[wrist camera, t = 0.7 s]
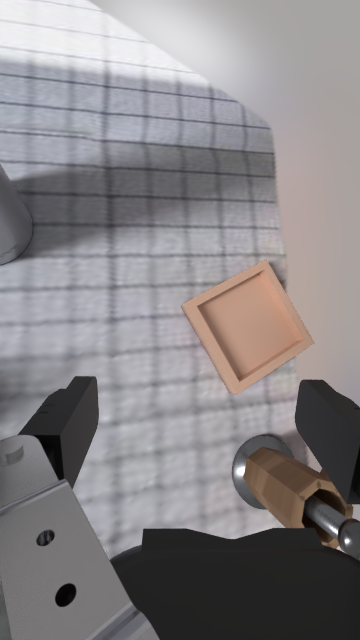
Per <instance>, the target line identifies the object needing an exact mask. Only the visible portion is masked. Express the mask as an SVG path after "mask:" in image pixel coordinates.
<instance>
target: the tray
mask: <svg viewBox="0 0 360 640" xmlns="http://www.w3.org/2000/svg"><path fill="white" fill-rule="evenodd" d="M181 308H182V309H183V311H184V313H185V315H186V316H187V318H188V320H189V322H190V324H191V325H192V327H193V329H194V331H195V332H196V334H197V336H198V338H199V340H200V341H201V343H202V345H203V347H204V349H205V350H206V352H207V354H208V356H209V357H210V359H211V361H212V363H213V365H214V366H215V368H216V370H217V372H218V374H219V375H220V377H221V379H222V381H223V382H224V384H225V386H226V388H227V390H228V391H229V393H233V394H238V393H240V392H241V391H243V390H244V389H246V388H247V387H249V386H250V385H252V384H253V383H255V382H256V381H258V380H259V379H261V378H263V377H264V376H266V375H267V374H269V373H270V372H272V371H273V370H275V369H276V368H278V367H279V366H281V365H282V364H284V363H285V362H287V361H288V360H290V359H291V358H293V357H294V356H296V355H297V354H299V353H300V352H302V351H303V350H305V349H306V348H308V347H309V346H311V345H312V344H314V341H313V340H312V338H311V336H310V334H309V333H308V331H307V329H306V327H305V326H304V324H303V322H302V320H301V319H300V317H299V315H298V313H297V312H296V310H295V308H294V307H293V305H292V303H291V301H290V300H289V298H288V296H287V294H286V293H285V291H284V289H283V287H282V286H281V284H280V282H279V280H278V279H277V277H276V275H275V273H274V272H273V270H272V268H271V266H270V265H269V263H268V261H267V259H266V260H264V261H262V262H260V263H258V264H256V265H254V266H253V267H251V268H249V269H247V270H245V271H243V272H241V273H239V274H238V275H236V276H234V277H232V278H230V279H228V280H226V281H224V282H223V283H221V284H219V285H217V286H215V287H213V288H211V289H209V290H208V291H206V292H204V293H202V294H200V295H198V296H196V297H195V298H193V299H191V300H189V301H187V302H185V303H184V304H183V305H182V306H181Z"/></svg>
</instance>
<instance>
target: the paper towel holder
mask: <svg viewBox="0 0 360 640" xmlns="http://www.w3.org/2000/svg"><path fill="white" fill-rule="evenodd" d="M261 447H266V448H270V449H274V450H278V451H281V452H282V453H284V454H286V455H288V456H290V457H291V458H293V459H294V456H293V454H292V452H291V451H290V449H289V448H288V447H287V446H286V445H285V444H284V443H283V442H282V441H280V440H278V439H276V438H274V437H271V436H266V435H261V436H256V437H253V438H251V439H249V440H248V441H246V442H245V443H244V444H243V445H242V446H241V447H240V448H239V450H238V452H237V453H236V455H235V458H234V461H233V466H232V478H233V483H234V486H235V488H236V490H237V492H238V494H239V495H240V496H241V497H242V499H243V500H244V501H245V502H247V503H248V504H249V505H251V506H253V507H255V508H258V509H266V508H265V507H264V506H263V505H262V504H261V503H260V502H259V501H258V500H257V499H256V498H255V497H254V496H253V495H252V493H251V491H250V489H249V487H248V486H247V484H246V482H245V480H244V478H243V475H244V470H245V465H246V461H247V457H248V456H250V455H251V454H253V453H254V452H255V451H257V450H258V449H259V448H261ZM303 513H304V514H305V515H307V516H308V517H309V518H310V519H311V520H313V521H314V522H315V523H316V524H318V525H319V526H320V527H321V528H323V529H324V530H325V531H326V532H327V533H329V534H330V535H331V536H332V537H334V538H335V539H336V540H337V541H338V543H339V546H340V547H341V549H342V550H343V551H344V552H345V553H346V554H348V555H351V556H352V557H354V558H356V559H358V560H359V558H360V521H358V520H356V519H353V518H350V519H348V518H346V517H345V516H344V515H342V514H341V513H339V512H338V511H336V510H335V509H333V508H332V507H330V506H329V505H327V504H326V503H324V502H323V501H321V500H320V499H319V498H317V497H316V496H314V495H313V494H312V495H311V496H309V497H308V498H307V499H306V500H305V502H304V508H303Z"/></svg>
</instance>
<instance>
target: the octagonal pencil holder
mask: <svg viewBox="0 0 360 640" xmlns="http://www.w3.org/2000/svg"><path fill="white" fill-rule="evenodd" d="M243 478H244V480H245V482H246V484H247V486H248V487H249V489H250V491H251V493H252V495H253V496H254V497H255V498H256V499H257V500H258V501H259V502H260V503H261V504H262V505H263V506H264V507H265V508H266V509H267V510H268V511H269V512H270V513H271V514H272V515H273V516H274V517H275V518H276V519H277V520H278V521H279V522H280V523H281V524H282V525H284V526H285V527H286V528H315V530H316V532H317V534H318V536H319V538H320V540H321V542H322V544H323V545H325V546H329V547H332V548H334V549H336V548H337V547H338V546H339V543H338V541H337V540H336V539H335V538H334V537H332V536H331V535H330V534H329V533H327V532H326V531H325V530H324V529H323V528H321V527H320V526H319V525H318V524H316V523H315V522H314V521H313V520H311V519H310V518H309V517H308V516H307V515H305V514H304V513H303V508H304V502H305V500H306V499H307V498H308V497H309V496H311V495H312V494H313V495H314V496H316V497H317V498H319V499H320V500H321V501H323V502H324V503H326V504H327V505H329V506H330V507H332V508H333V509H335V510H336V511H338V512H339V513H341V514H342V515H344V516H345V517H346V518H348V519H350V518H352V514H353V506H352V504H346V503H345V501H344V500H343V498H342V497H341V495H340V494H339V492H338V491H337V489H336V488H335V486H334V485H333V483H332V482H331V480H330V479H329V477H328V476H327V474H326V473H325V471H324V470H323V468H322V470H321V472H320V473H319V472H317V471H315V470H313V469H312V468H310V467H308V466H306V465H304V464H302V463H301V462H299V461H297V460H295V459H293V458H291V457H290V456H288V455H286V454H284V453H282V452H281V451H278V450H274V449H270V448H266V447H261V448H259V449H258V450H257V451H255V452H254V453H253V454H251V455H250V456H248V457H247V461H246V465H245V470H244V475H243Z"/></svg>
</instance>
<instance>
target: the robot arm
mask: <svg viewBox="0 0 360 640" xmlns="http://www.w3.org/2000/svg"><path fill="white" fill-rule="evenodd" d="M32 232H33V224H32V219H31V216H30V213H29V212H28V210H27V208H26V206H25V205H24V203H23V201H22V200H21V198H20V196H19V195H18V193H17V191H16V189H15V188H14V186H13V184H12V183H11V181H10V179H9V178H8V176H7V174H6V173H5V171H4V169H3V168H2V166H1V164H0V265H1V264H4V263H7V262H9V261H11V260H13V259H15V258H16V257H18V256H19V255H20V254H21V253H22V252H23V251H24V250H25V249H26V247H27V246H28V244H29V242H30V240H31V237H32ZM98 419H99V408H98V389H97V379H96V377H94V376H75V377H74V379H73V380H72V381H71V383H70V384H69V386H68V387H67V388H66V389H59V390H57V391H56V392H54V393H53V394H51V395H49V396H48V397H47V399H46V400H45V401H44V402H43V404H42V406H40V408H39V409H38V410H37V411H36V413H35V414H34V415H33V416H32V418H31V419H30V420H29V421H28V423H27V424H26V425H25V426H24V428H23V429H22V430H21V431H20V433H19V434H18V435H17V436H12V437H9V438H5V439H3V440H1V441H0V577H1V582H2V588H3V593H4V599H5V604H6V610H7V615H8V621H9V626H10V632H11V637H12V640H360V558H359V560H358V559H356V558H354V557H352V556H351V555H348V554H346V553H344V552H342V551H340V550H337V549H334V548H332V547H329V546H325V545H323V544H322V542H321V540H320V538H319V536H318V534H317V532H316V530H315V528H272V529H269V530H265V531H262V532H258V533H255V534H251V535H248V536H244V537H241V538H238V539H226V538H222V537H218V536H214V535H210V534H206V533H202V532H198V531H194V530H190V529H143V538H142V545H140V546H136V547H133V548H131V549H128V550H126V551H124V552H122V553H120V554H118V555H117V556H115V557H113V558H112V559H110V560H109V559H108V557H107V555H106V553H105V551H104V549H103V547H102V545H101V543H100V542H99V540H98V538H97V536H96V534H95V532H94V530H93V528H92V526H91V524H90V523H89V521H88V519H87V517H86V515H85V513H84V511H83V509H82V507H81V505H80V504H79V502H78V500H77V498H76V496H75V494H74V492H73V490H72V489H73V487H74V484H75V482H76V479H77V477H78V474H79V472H80V469H81V467H82V464H83V462H84V459H85V457H86V454H87V452H88V449H89V447H90V444H91V442H92V439H93V437H94V434H95V432H96V429H97V425H98ZM295 423H296V427H297V430H298V432H299V433H300V435H301V436H302V438H303V439H304V441H305V442H306V444H307V445H308V447H309V448H310V450H311V451H312V453H313V454H314V456H315V457H316V459H317V461H318V462H319V463H320V465H321V467H322V468H323V470H324V471H325V473H326V474H327V476H328V477H329V479H330V480H331V482H332V483H333V485H334V486H335V488H336V489H337V491H338V492H339V494H340V495H341V497H342V498H343V500H344V501H345V503H346V504H360V407H359V406H358V405H357V404H355V403H354V402H353V401H352V400H351V399H349V398H347V397H345V396H343V395H341V394H339V393H338V392H336V391H335V390H334V389H332V387H330V386H329V385H328V384H327V383H326V382H325V381H324V380H302V381H301V382H300V385H299V392H298V398H297V405H296V412H295Z"/></svg>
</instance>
